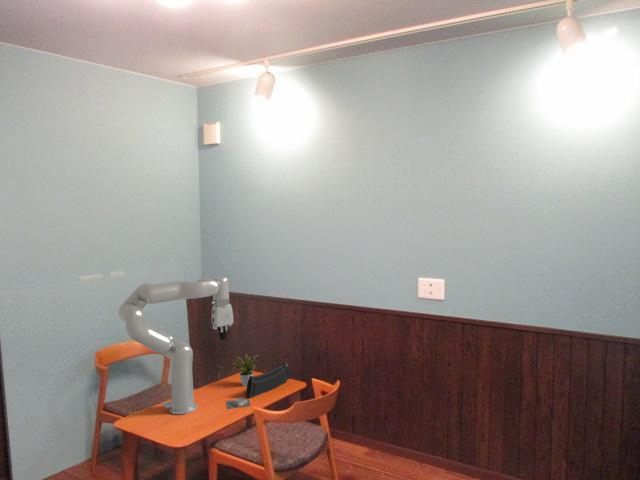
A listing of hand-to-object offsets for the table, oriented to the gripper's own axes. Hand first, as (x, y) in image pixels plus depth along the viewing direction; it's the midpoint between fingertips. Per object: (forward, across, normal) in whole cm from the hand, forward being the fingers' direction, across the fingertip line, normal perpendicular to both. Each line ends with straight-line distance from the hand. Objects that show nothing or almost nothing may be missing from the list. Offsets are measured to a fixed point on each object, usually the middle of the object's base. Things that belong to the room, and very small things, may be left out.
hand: (223, 339), depth 240 cm
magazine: (+29, +21, -8) cm, 37 cm away
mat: (+29, -1, -12) cm, 31 cm away
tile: (+28, -3, -12) cm, 31 cm away
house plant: (+29, +19, +6) cm, 35 cm away
